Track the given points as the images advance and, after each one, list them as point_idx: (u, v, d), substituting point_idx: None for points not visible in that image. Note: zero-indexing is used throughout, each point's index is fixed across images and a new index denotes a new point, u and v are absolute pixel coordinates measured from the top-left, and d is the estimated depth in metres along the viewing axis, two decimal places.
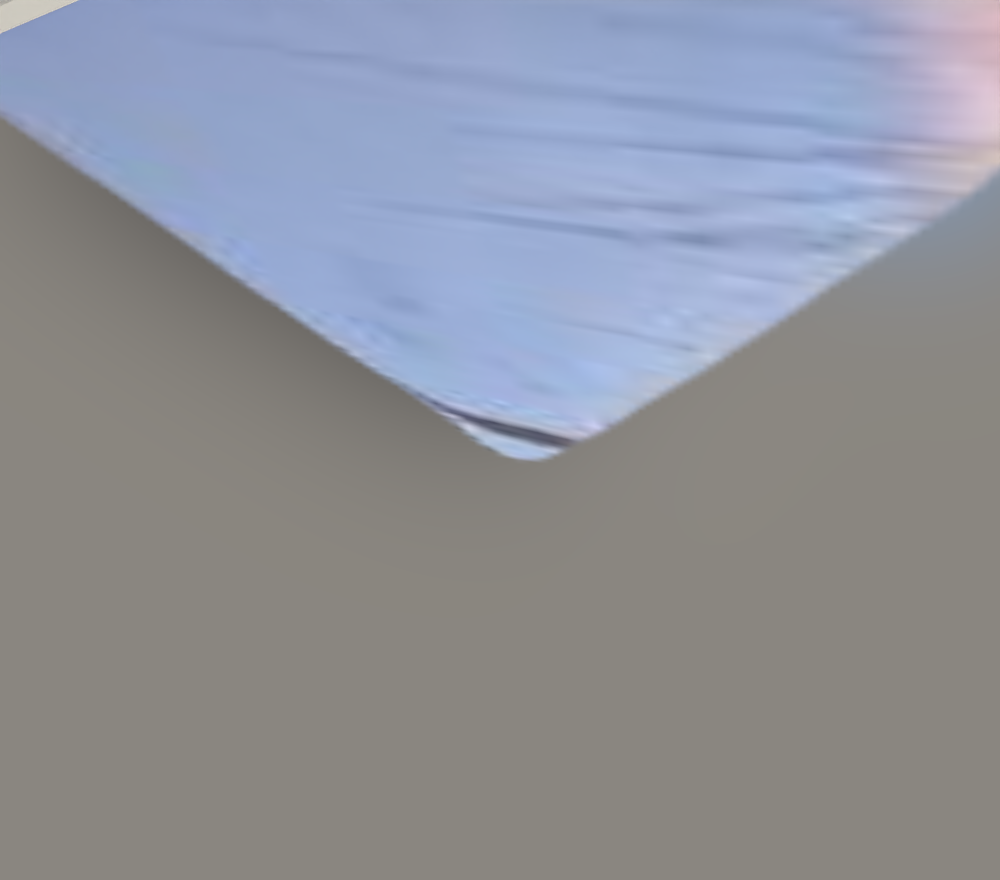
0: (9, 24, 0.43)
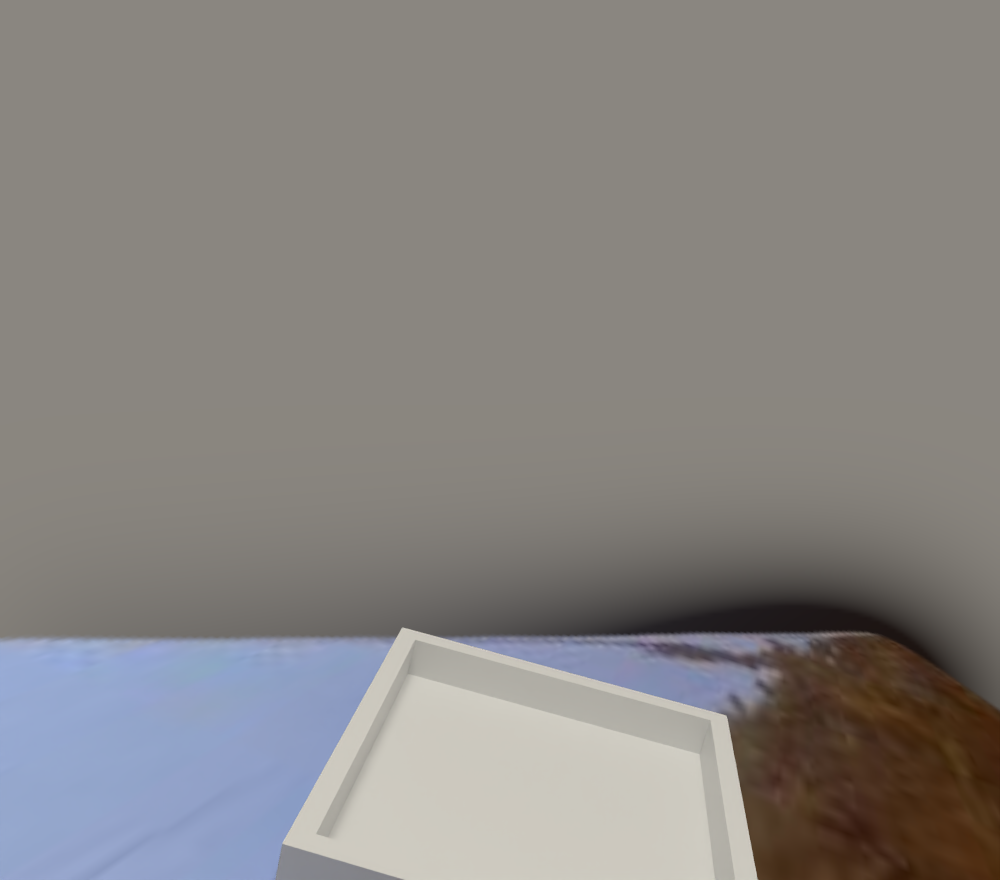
0: (377, 678, 0.47)
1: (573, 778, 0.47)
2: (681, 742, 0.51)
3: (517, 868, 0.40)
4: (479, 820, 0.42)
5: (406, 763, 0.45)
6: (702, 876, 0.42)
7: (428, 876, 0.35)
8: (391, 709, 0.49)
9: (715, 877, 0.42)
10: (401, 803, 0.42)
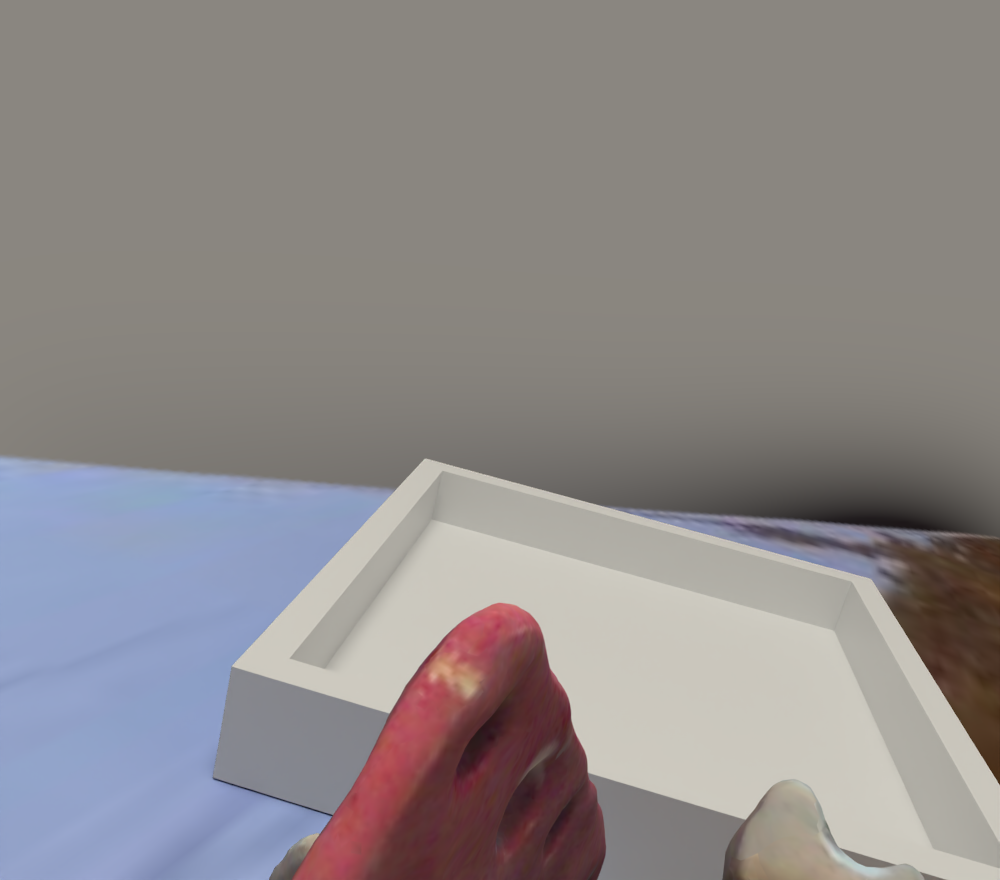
0: (391, 500, 0.33)
1: (670, 643, 0.33)
2: (809, 614, 0.37)
3: (605, 743, 0.26)
4: None
5: (432, 609, 0.31)
6: (880, 770, 0.28)
7: None
8: (410, 552, 0.35)
9: (900, 772, 0.28)
10: (426, 653, 0.28)
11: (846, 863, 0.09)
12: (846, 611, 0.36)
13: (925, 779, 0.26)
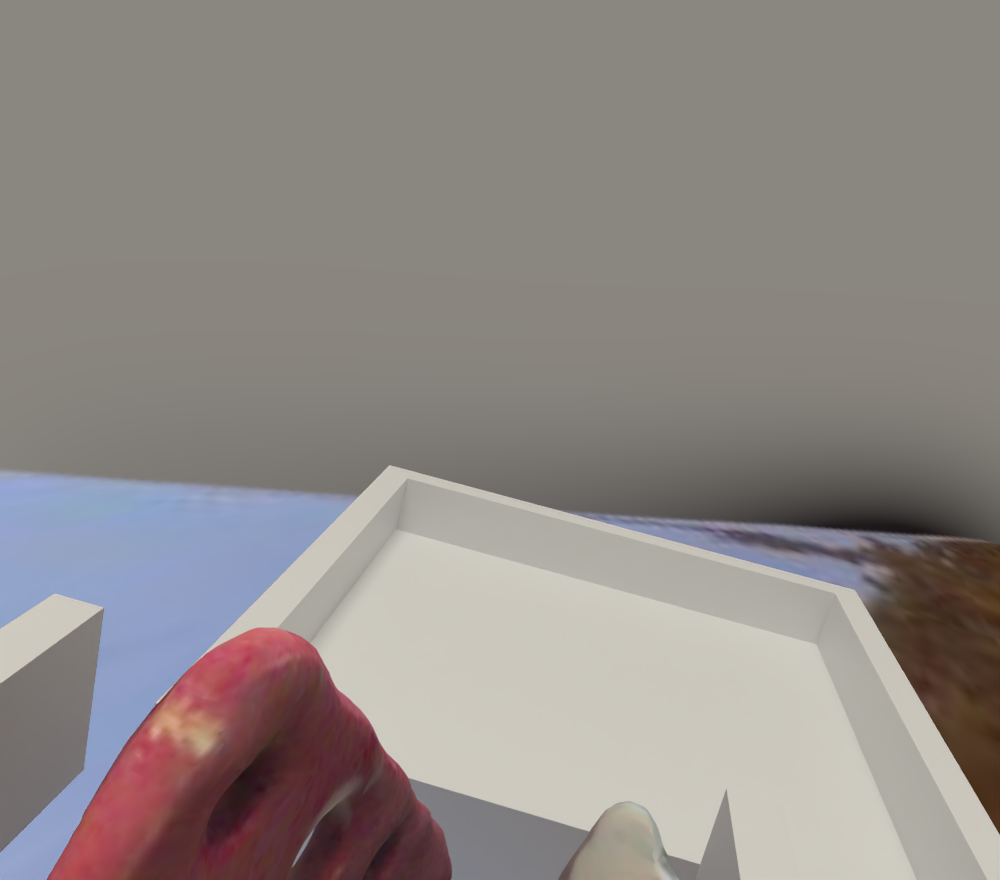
0: (349, 512, 0.32)
1: (643, 661, 0.31)
2: (790, 627, 0.36)
3: (571, 775, 0.24)
4: (505, 707, 0.26)
5: (390, 628, 0.29)
6: (864, 798, 0.26)
7: (422, 765, 0.19)
8: (370, 565, 0.33)
9: (885, 801, 0.26)
10: (381, 678, 0.26)
11: None
12: (829, 624, 0.35)
13: (911, 811, 0.24)
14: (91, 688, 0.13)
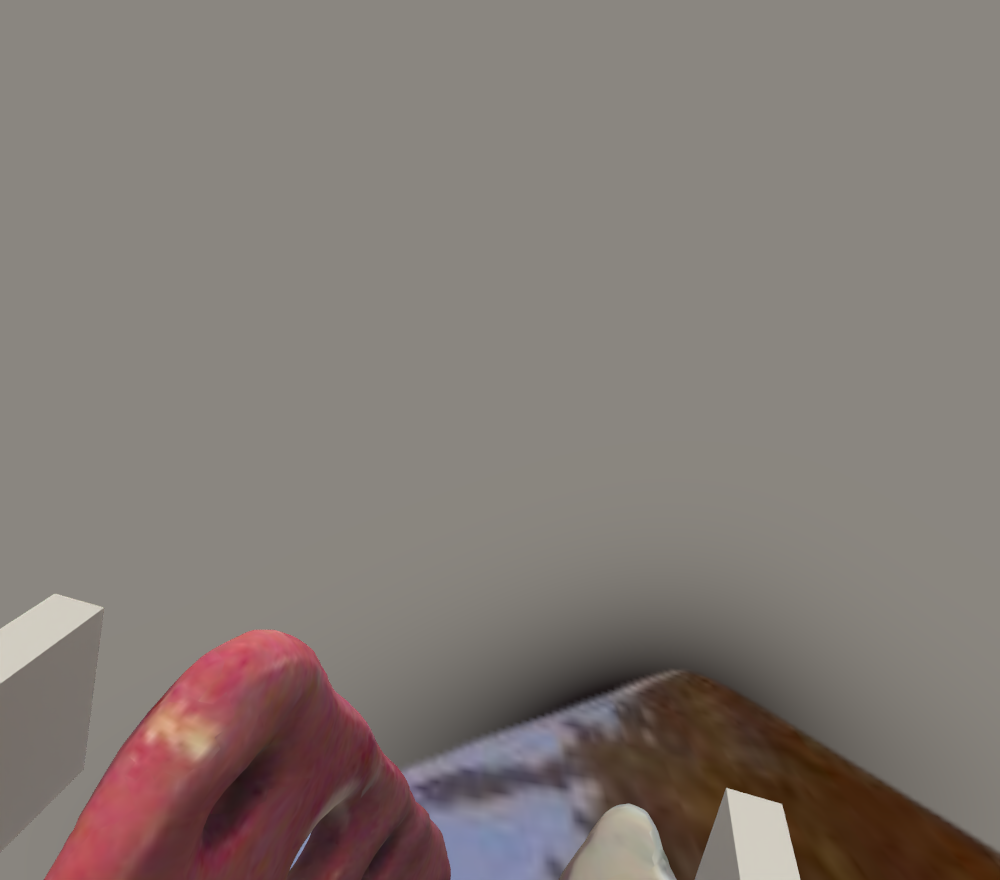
0: None
1: None
2: None
3: None
4: None
5: None
6: None
7: None
8: None
9: None
10: None
11: None
12: None
13: None
14: (91, 688, 0.13)
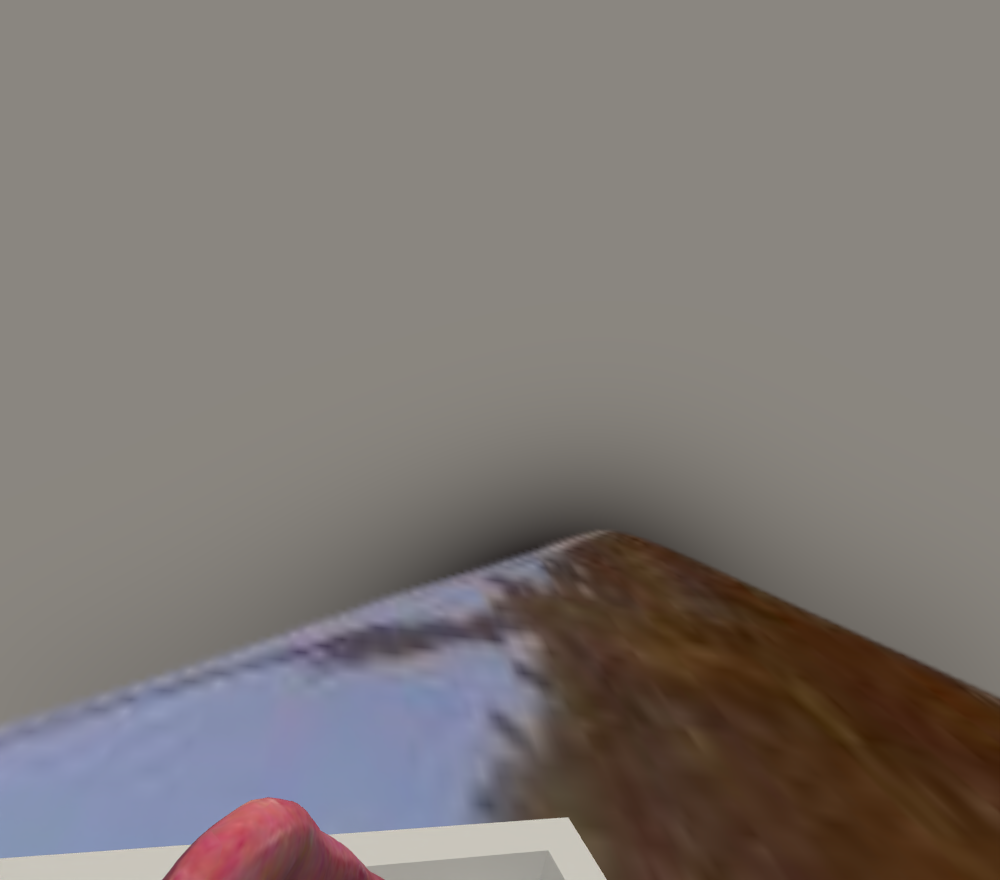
0: None
1: None
2: None
3: None
4: None
5: None
6: None
7: None
8: None
9: None
10: None
11: None
12: None
13: None
14: None
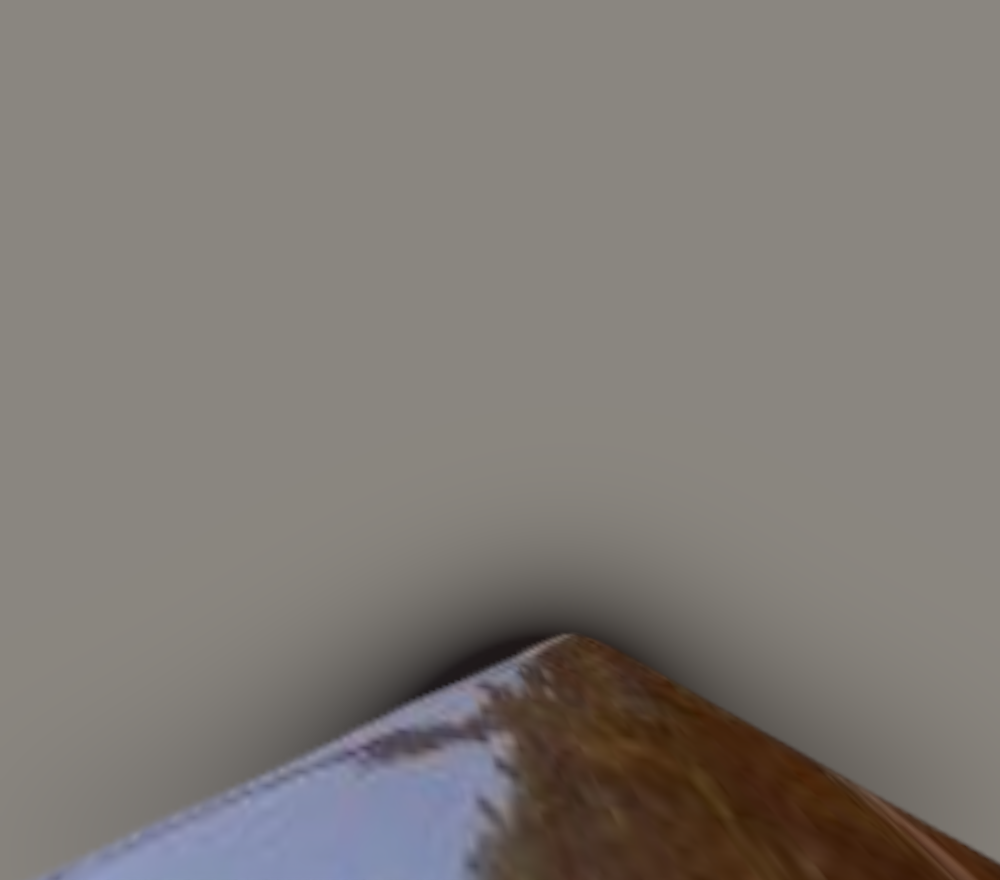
0: None
1: None
2: None
3: None
4: None
5: None
6: None
7: None
8: None
9: None
10: None
11: None
12: None
13: None
14: None
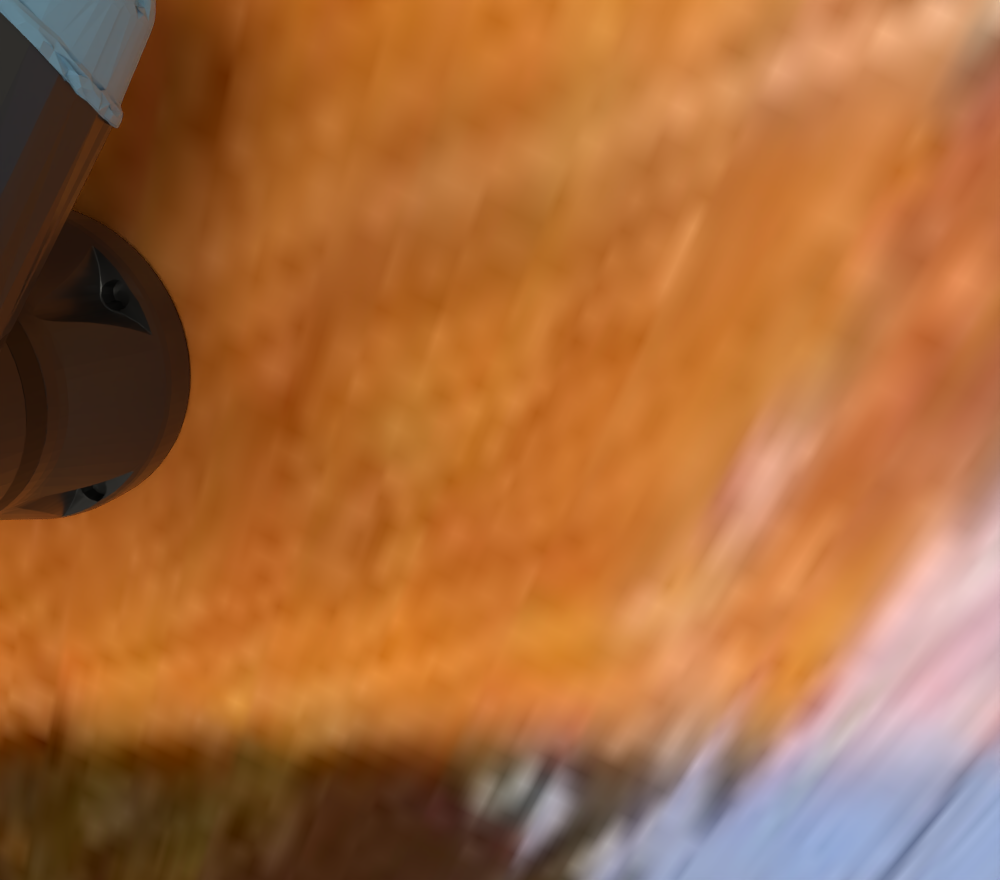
0: None
1: None
2: None
3: None
4: None
5: None
6: None
7: None
8: None
9: None
10: None
11: None
12: None
13: None
14: None
